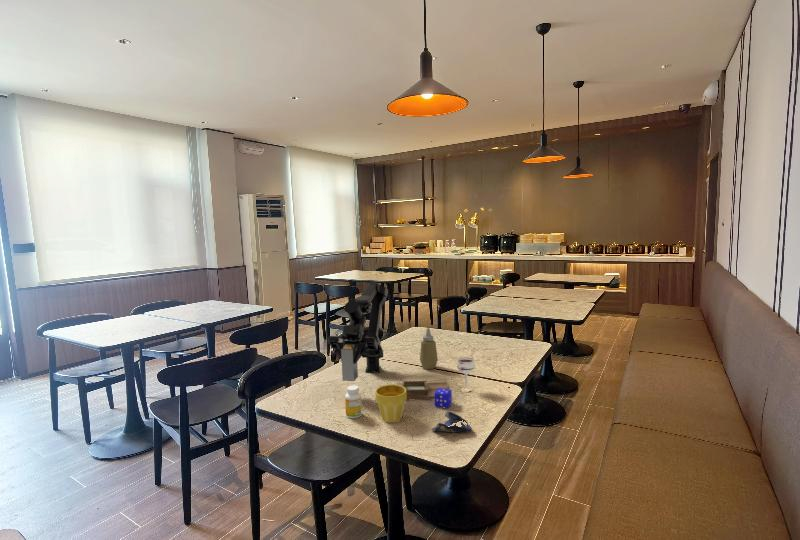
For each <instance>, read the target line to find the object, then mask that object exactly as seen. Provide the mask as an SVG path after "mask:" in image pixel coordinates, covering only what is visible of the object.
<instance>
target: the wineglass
mask: <svg viewBox="0 0 800 540" xmlns="http://www.w3.org/2000/svg"><path fill="white" fill-rule="evenodd" d="M475 366H476V364H475V358H473V357H469V356H463V357H462V356H461V357H458V358H457V363H456V367H457V369H458V370H459V371H460V372H461V373H463V375H464V381H465V387H464V388H465V389H467V388H468V374H471V373H472V372H473V371H474V369H475Z"/></svg>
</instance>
